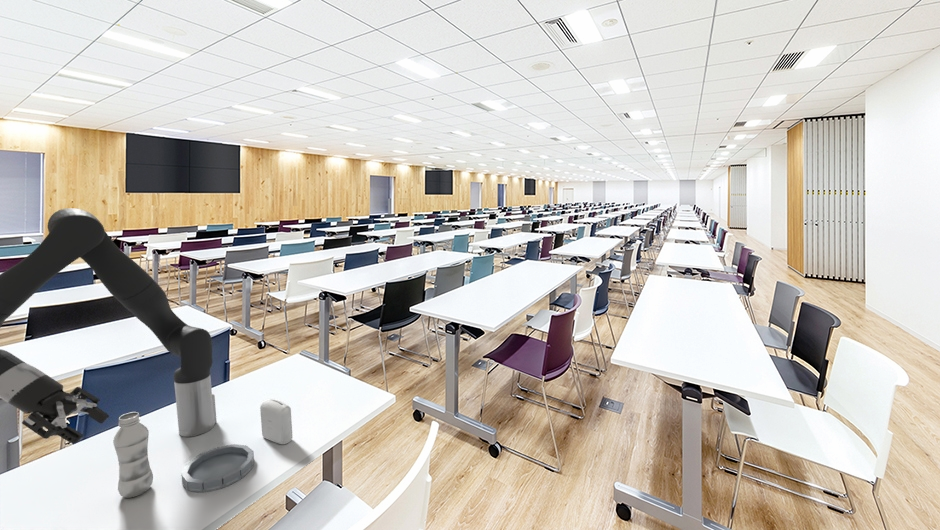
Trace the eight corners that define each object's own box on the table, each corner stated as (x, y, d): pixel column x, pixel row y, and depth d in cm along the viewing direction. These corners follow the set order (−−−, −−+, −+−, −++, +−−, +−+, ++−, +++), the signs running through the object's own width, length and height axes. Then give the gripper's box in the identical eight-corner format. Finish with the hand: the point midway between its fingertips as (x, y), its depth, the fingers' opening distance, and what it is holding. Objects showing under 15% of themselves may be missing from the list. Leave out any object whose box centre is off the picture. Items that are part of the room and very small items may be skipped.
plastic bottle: (111, 500, 93) (101, 422, 90) (139, 480, 99) (131, 407, 97) (134, 503, 92) (125, 424, 89) (161, 484, 98) (153, 410, 96)
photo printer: (259, 437, 119) (257, 399, 117) (272, 430, 123) (270, 393, 121) (282, 447, 114) (280, 407, 113) (294, 439, 118) (293, 401, 117)
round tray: (215, 450, 112) (214, 442, 112) (266, 455, 111) (266, 447, 110) (166, 488, 97) (165, 479, 96) (224, 495, 95) (224, 486, 94)
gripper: (10, 389, 81) (82, 434, 85) (64, 363, 95) (124, 403, 99) (-18, 416, 80) (56, 460, 84) (41, 386, 94) (102, 425, 98)
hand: (93, 429), depth 91 cm, fingers open, 8 cm apart
